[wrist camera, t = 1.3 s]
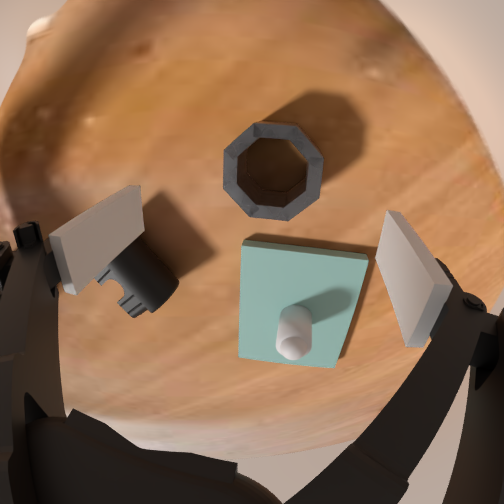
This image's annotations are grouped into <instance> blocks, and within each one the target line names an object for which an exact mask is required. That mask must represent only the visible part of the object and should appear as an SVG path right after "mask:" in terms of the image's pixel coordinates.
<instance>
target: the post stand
mask: <svg viewBox="0 0 504 504" xmlns="http://www.w3.org/2000/svg"><path fill="white" fill-rule="evenodd" d="M368 261H369V260H368V257H367V254H362V253H354V252H346V251H338V250H329V249H321V248H312V247H304V246H295V245H287V244H278V243H269V242H260V241H251V240H244V241H243V243H242V246H241V277H240V313H239V355H238V357H240V358H247V359H254V360H261V361H268V362H276V363H284V364H293V365H303V366H313V367H325V368H335V365H336V363H337V360H338V357H339V354H340V352H341V349H342V346H343V343H344V340H345V338H346V335H347V332H348V329H349V326H350V323H351V320H352V317H353V313H354V310H355V307H356V304H357V300H358V297H359V294H360V290H361V287H362V283H363V280H364V276H365V273H366V269H367V265H368Z"/></svg>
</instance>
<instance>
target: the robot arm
mask: <svg viewBox="0 0 504 504" xmlns="http://www.w3.org/2000/svg"><path fill="white" fill-rule="evenodd" d="M144 231H145V229H144V221H143V211H142V201H141V189H140V186H133V185H129V186H127V187H125V188H123V189H122V190H120V191H118V192H116V193H115V194H113V195H111V196H109V197H108V198H106V199H104V200H102V201H101V202H99V203H97V204H96V205H94V206H92V207H91V208H89V209H87V210H86V211H84V212H83V213H81V214H79V215H78V216H76V217H75V218H73V219H72V220H70V221H68V222H67V223H65V224H64V225H62V226H61V227H59V228H58V229H56V230H55V231H53V232H52V233H50V234H49V235H48V236H49V238H48V239H46V240H45V241H44V242H43V239H42V235H41V230H40V226H39V222H38V221H29V222H26V223H23V224H21V225H19V226H17V227H16V228H15V229H14V230H13V233H14V236H15V240H16V243H17V247H18V249H17V251H12V249H11V246H10V243H9V242H8V241H4V242H0V504H282V503H281V501H280V500H279V499H278V498H277V497H276V496H275V495H274V494H273V493H271V492H270V491H269V490H268V489H267V488H265V487H264V486H262V485H261V484H259V483H257V482H256V481H254V480H252V479H250V478H249V477H247V476H244V475H242V474H240V473H237V463H235V462H229V461H224V460H219V459H215V458H210V457H206V456H202V455H197V454H194V453H187V452H169V451H157V450H147V449H142V448H139V447H137V446H136V445H134V444H133V443H131V442H130V441H128V440H127V439H126V438H124V437H123V436H121V435H120V434H119V433H117V432H116V431H115V430H113V429H112V428H111V427H109V426H108V425H107V424H105V423H103V422H101V421H99V420H96V419H94V418H92V417H90V416H88V415H86V414H83V413H81V412H79V411H77V410H75V409H72V411H71V413H70V414H69V416H68V417H66V414H65V410H64V403H63V395H62V386H61V376H60V363H59V344H58V297H59V292H58V289H57V286H56V285H57V284H58V283H59V282H60V281H61V282H62V285H63V288H64V291H65V292H67V293H70V294H74V295H78V294H79V293H80V292H81V291H82V290H83V289H84V288H85V287H86V286H87V285H88V284H89V283H90V282H91V281H92V280H93V279H94V278H95V277H96V276H97V275H98V274H99V273H100V272H101V271H102V270H103V269H104V268H105V267H106V266H107V265H108V264H109V263H110V262H111V261H112V260H113V259H114V258H115V257H116V256H117V255H119V254H120V253H121V252H122V251H123V250H124V249H125V248H126V247H127V246H128V245H129V244H130V243H132V242H133V241H134V240H135V239H136V238H137V237H138V236H139V235H140V234H142V233H143V232H144ZM375 259H376V261H377V264H378V266H379V269H380V272H381V274H382V277H383V280H384V282H385V285H386V288H387V291H388V293H389V296H390V299H391V302H392V305H393V308H394V311H395V314H396V317H397V320H398V323H399V326H400V330H401V333H402V336H403V339H404V343H405V346H406V347H424V345H425V343H426V341H427V339H428V338H429V336H430V337H431V339H432V341H431V342H430V344H429V346H428V347H427V349H426V350H425V352H424V353H423V355H422V356H421V358H420V359H419V361H418V362H417V364H416V365H415V367H414V368H413V370H412V371H411V373H410V374H409V376H408V377H407V378H406V380H405V381H404V382H403V384H402V385H401V387H400V388H399V389H398V391H397V392H396V393H395V394H394V396H393V397H392V398H391V400H390V401H389V402H388V403H387V405H386V406H385V407H384V408H383V410H382V411H381V412H380V413H379V414H378V416H377V417H376V418H375V419H374V420H373V422H372V423H371V424H370V425H369V426H368V427H367V428H366V430H365V431H364V432H363V433H362V434H361V435H360V436H359V437H358V438H357V439H356V441H354V442H353V443H352V444H350V445H349V446H348V447H347V448H346V449H345V450H344V451H343V452H342V453H341V454H340V455H339V456H338V457H337V458H336V459H335V460H334V461H333V462H332V463H331V464H330V465H329V466H328V467H326V468H325V469H324V470H323V471H322V472H321V473H320V474H319V475H318V476H316V477H315V478H314V479H313V480H312V481H311V482H310V483H308V485H306V486H305V487H304V488H303V489H301V490H300V491H299V492H298V493H297V494H295V495H294V496H293V497H292V498H290V499H289V500H288V501H286V502H285V503H284V504H397V503H398V502H399V501H400V500H401V498H402V497H403V495H404V493H405V492H406V491H407V489H408V486H409V483H408V482H407V480H408V478H409V476H410V475H411V473H412V472H413V470H414V469H415V467H416V466H417V464H418V463H419V461H420V460H421V458H422V457H423V455H424V454H425V452H426V450H427V449H428V447H429V445H430V444H431V442H432V440H433V439H434V437H435V435H436V433H437V432H438V430H439V428H440V426H441V424H442V423H443V420H444V418H445V417H446V415H447V413H448V411H449V409H450V407H451V405H452V403H453V401H454V398H455V396H456V394H457V392H458V390H459V388H460V385H461V383H462V381H463V378H464V376H465V374H466V371H467V369H468V366H469V365H470V379H469V389H468V397H467V405H466V412H465V418H464V424H463V429H462V434H461V439H460V444H459V449H458V452H457V457H456V461H455V464H454V468H453V472H452V475H451V479H450V482H449V485H448V488H447V491H446V494H445V497H444V500H443V503H442V504H504V308H503V309H502V311H501V313H500V315H499V316H496V315H493V314H490V313H487V308H486V306H485V304H484V303H483V302H482V300H481V299H479V298H478V297H476V296H475V295H473V294H470V293H466V292H463V290H462V289H461V287H460V286H459V284H458V283H457V281H456V280H455V279H454V277H453V275H452V274H451V273H450V271H449V269H448V268H447V266H446V265H445V264H444V263H442V262H441V261H440V260H439V259H438V258H434V257H433V255H432V254H431V252H430V251H429V250H428V248H427V247H426V245H425V244H424V243H423V241H422V240H421V239H420V237H419V236H418V235H417V233H416V232H415V231H414V229H413V228H412V227H411V225H410V224H409V223H408V222H407V220H406V219H405V218H404V216H403V215H402V214H401V213H400V212H396V211H390V210H387V211H386V215H385V220H384V224H383V229H382V233H381V237H380V241H379V245H378V249H377V253H376V257H375Z"/></svg>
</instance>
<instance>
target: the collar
mask: <svg viewBox="0 0 504 504" xmlns="http://www.w3.org/2000/svg"><path fill="white" fill-rule="evenodd" d="M260 137H261V138H275V139H286V140H290V141H291V142H292V143H293V144H294V146H295V147H296V148H297V149H298V150H299V151H300V153H301V154H302V155H303V156H304V157H305V158H306V160H307V166H306V176H305V178H304V179H303V180H302V181H300V182H299V183H298V184H296V185H295V186H294V187H292V188H291V189H290V190H289V191H287V192H281V191H271V190H263V189H262V188H261V187H260V186H259V185H258V184H257V183H256V182H255V181H254V179H253V178H252V177H251V176H250V175H249V174H248V173H247V153H248V148H249V147H250V146H251V145H252V144H253V143H255V142H256V141H257V140H258V139H259V138H260ZM323 163H324V158H323V155H322V153H321V151H320V150H319V148H318V147H317V146H316V145H315V144H314V142H313V141H312V140H311V139H310V138H309V137H308V135H307V134H306V133H305V132H304V131H303V130H302V128H301V127H300V126H299V125H298V124H297V123H286V122H273V121H259V122H255V123H253V124H252V125H251V126H250V127H249V128H248V129H246V130H245V131H244V132H243V133H242V134H241V135H240V136H239V137H238V138H236V139H235V140H234V141H233V142H232V143H231V144H230V145H229V146H228V147H227V148H225V149H224V166H223V189H224V190H225V191H226V192H227V193H228V194H229V195H230V197H231V198H232V199H233V200H234V201H235V202H236V203H237V204H238V205H239V206H240V207H241V208H242V209H243V211H244V212H245V213H246V214H247V215H248V216H249V217H254V218H264V219H273V220H282V221H289V220H290V219H292V218H293V217H294V216H296V215H297V214H299V213H300V212H301V211H303V210H304V209H305V208H307V207H308V206H309V205H311V204H312V203H313V202H315V201H316V200H317V199H319V196H320V188H321V180H322V171H323Z"/></svg>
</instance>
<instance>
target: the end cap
mask: <svg viewBox="0 0 504 504" xmlns="http://www.w3.org/2000/svg"><path fill="white" fill-rule="evenodd" d="M108 279H113V280H115V281H117V282H118V283H119V284H120V285H121V286H122V287H123V289H124V297H123V298H121V299H120V300H119V301H118V302H117V303H118V304H119V305H120V306H121V307H122V308H123V309H124V310H125V311H126V312H127V313H128V314H129V315H130V316H131V317H133V318H136V317H137V316H139V315H141V314H142V313H144V312H145V311H146V310H149V311H150V312H151V313H153V312H155V311H156V310H157V309H158V308H160V307H161V306H162V305H163V304H164V303H165V302H166V301H167V300H168V299H169V298H170V296H171V295H172V294H173V293H174V292H175V290H176V289H177V287H178V285H179V280H178V279H177V278H176V277H175V276H174V275H173V274H172V273H171V272H170V271H169V269H168V268H167V267H166V266H165V265H164V264H163V263H162V262H161V261H160V260H159V259H158V258H157V256H156V255H155V254H154V253H153V252H152V251H151V250H150V249H149V248H148V247H147V245H146V244H145V243H144V242H143V241H142V240H141V239H140V238H139V236H138V237H137V238H136V239H135V240H134V241H133V242H132V243H130V244H129V245H128V246H127V247H126V248H125V249H124V250H123V251H122V252H121V253H120V254H119V255H117V256H116V257H115V258H114V259H113V260H112V261H111V262H110V263H109V264H108V265H107V266H106V267H105V268H104V269H103V270H102V271H101V272H100V273H99V274H98V275H97V276H96V277H95V280H96V281H97V282H98V283H99V284H100V285H101V286H102V285H103V284H104V282H105V281H107V280H108Z"/></svg>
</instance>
